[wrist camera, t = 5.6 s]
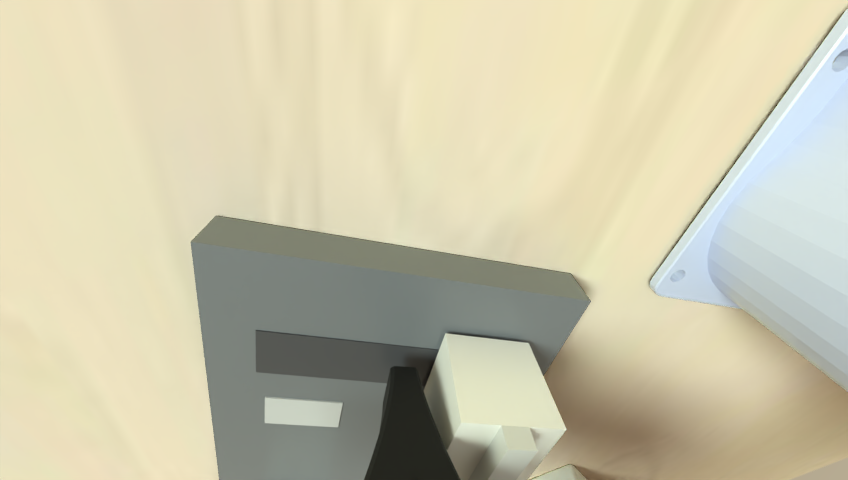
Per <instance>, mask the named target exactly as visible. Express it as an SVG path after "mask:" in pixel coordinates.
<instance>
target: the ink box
mask: <svg viewBox="0 0 848 480" xmlns="http://www.w3.org/2000/svg"><path fill="white" fill-rule="evenodd" d="M531 480H587V479H586V478H585V477H584V476H583V475H582V474H581V473H580V472H579V471H578V470H577V469H576V468H575V467H574V466H573V465H572V464H570V465H566V466H563V467H561V468H558V469H556V470H553V471H551V472H548V473H546V474H543V475H541V476H538V477H536V478H533V479H531Z"/></svg>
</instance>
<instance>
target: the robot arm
mask: <svg viewBox="0 0 848 480" xmlns="http://www.w3.org/2000/svg"><path fill="white" fill-rule="evenodd" d="M835 58H836V59H835ZM834 59H835V61H834ZM833 61H834V62H833ZM650 288H651V289H652V290H653V291H654V292H655V293H656V294H657V295H659V296H663V297H669V298H675V299H681V300H688V301H694V302H700V303H707V304H713V305H719V306H726V307H732V308H738V309H743V310H744V311H746V312H747V313H748V314H749V315H751V316H752V317H753V318H755V319H756V320H757V321H758V322H760V323H761V324H762V325H763V326H765V327H766V328H767V329H768V330H770V331H771V332H772V333H774V334H775V335H776V336H777V337H779V338H780V339H781V340H782V341H784V342H785V343H786V344H787V345H789V346H790V347H791V348H793V349H794V350H795V351H796V352H798V353H799V354H800V355H801V356H803V357H804V358H805V359H806V360H808V361H809V362H810V363H812V364H813V365H814V366H815V367H817V368H818V369H819V370H820V371H822V372H823V373H824V374H825V375H827V376H828V377H829V378H831V379H832V380H833V381H834V382H836V383H837V384H838V385H839V386H841V387H842V388H843V389H844V390H846V391H847V392H848V8H847V9H846V11H845V12H844V13H843V15H842V16H841V18H840V19H839V20H838V22H837V23H836V24H835V26H834V27H833V29H832V30H831V31H830V33H829V34H828V36H827V37H826V38H825V40H824V41H823V42H822V44H821V45H820V47H819V48H818V49H817V51H816V52H815V53H814V55H813V56H812V58H811V59H810V60H809V62H808V63H807V65H806V66H805V67H804V69H803V70H802V71H801V73H800V74H799V76H798V77H797V78H796V80H795V81H794V83H793V84H792V85H791V87H790V88H789V89H788V91H787V92H786V94H785V95H784V96H783V98H782V99H781V101H780V102H779V103H778V105H777V106H776V107H775V109H774V110H773V112H772V113H771V114H770V116H769V117H768V118H767V120H766V121H765V123H764V124H763V125H762V127H761V128H760V130H759V131H758V132H757V134H756V135H755V136H754V138H753V139H752V141H751V142H750V143H749V145H748V146H747V148H746V149H745V150H744V152H743V153H742V154H741V156H740V157H739V159H738V160H737V161H736V163H735V164H734V165H733V167H732V168H731V170H730V171H729V172H728V174H727V175H726V177H725V178H724V179H723V181H722V182H721V183H720V185H719V186H718V188H717V189H716V190H715V192H714V193H713V195H712V196H711V197H710V199H709V200H708V201H707V203H706V204H705V206H704V207H703V208H702V210H701V211H700V212H699V214H698V215H697V217H696V218H695V219H694V221H693V222H692V224H691V225H690V226H689V228H688V229H687V230H686V232H685V233H684V235H683V236H682V237H681V239H680V240H679V242H678V243H677V244H676V246H675V247H674V248H673V250H672V251H671V253H670V254H669V255H668V257H667V258H666V259H665V261H664V262H663V264H662V265H661V266H660V268H659V269H658V271H657V272H656V273H655V275H654V276H653V277H652V279H651V281H650ZM364 480H461V479H460V477H459V475H458V473H457V471H456V469H455V467H454V465H453V463H452V461H451V459H450V457H449V454H448V452H447V450H446V448H445V445H444V443H443V441H442V439H441V436H440V434H439V431H438V429H437V426H436V424H435V421H434V419H433V416H432V414H431V411H430V408H429V405H428V403H427V400H426V397H425V394H424V391H423V387H422V384H421V381H420V377H419V373H418V370H417V369H416V368H415V367H403V366H393V367H391V368H390V372H389V377H388V381H387V386H386V390H385V395H384V400H383V409H382V418H381V425H380V432H379V436H378V439H377V442H376V445H375V448H374V451H373V455H372V458H371V461H370V464H369V467H368V470H367V473H366V475H365V478H364Z"/></svg>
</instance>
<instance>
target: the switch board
mask: <svg viewBox="0 0 848 480" xmlns="http://www.w3.org/2000/svg"><path fill="white" fill-rule="evenodd" d="M191 249H192V257H193V265H194V274H195V282H196V290H197V299H198V307H199V315H200V323H201V332H202V340H203V348H204V357H205V365H206V373H207V382H208V390H209V398H210V407H211V415H212V423H213V432H214V440H215V448H216V457H217V465H218V473H219V480H364V478H365V475H366V473H367V470H368V467H369V464H370V461H371V458H372V455H373V451H374V448H375V445H376V442H377V439H378V436H379V432H380V425H381V418H382V409H383V400H384V395H385V390H386V386H387V381H388V377H389V372H390V368H391V367H393V366H403V367H415V368H416V369H417V370H418V373H419V377H420V381H421V384H422V387H423V391H424V388H425V386H426V383H427V381H428V378H429V375H430V373H431V370H432V367H433V365H434V362H435V360H436V357H437V354H438V352H439V349H440V346H441V344H442V341H443V339H444V336H445V333H447V334H456V335H464V336H473V337H481V338H490V339H498V340H507V341H516V342H524V343H529V345H530V347H531V349H532V352H533V354H534V356H535V359H536V361H537V363H538V365H539V368H540V370H541V372H542V375H543V376H544V374H545V373H546V371H547V369H548V368H549V366H550V365H551V363H552V362H553V360H554V358H555V357H556V355H557V354H558V352H559V351H560V349H561V347H562V346H563V344H564V343H565V341H566V340H567V338H568V336H569V335H570V333H571V332H572V330H573V329H574V327H575V325H576V324H577V322H578V321H579V319H580V318H581V316H582V315H583V313H584V311H585V310H586V308H587V307H588V305H589V304H590V302H591V300H590V299H589V298H588V296H587V295H586V294H585V292H584V291H583V290H582V288H581V287H580V286H579V284H578V283H577V282H576V280H575V279H574V277H573V276H572V275H571V274H570V273H564V272H558V271H551V270H545V269H539V268H533V267H527V266H521V265H515V264H509V263H503V262H496V261H490V260H484V259H478V258H472V257H466V256H460V255H454V254H448V253H441V252H435V251H429V250H423V249H417V248H411V247H405V246H399V245H393V244H386V243H380V242H374V241H368V240H362V239H356V238H350V237H344V236H337V235H331V234H325V233H319V232H313V231H307V230H301V229H295V228H289V227H282V226H276V225H270V224H264V223H258V222H252V221H246V220H240V219H234V218H227V217H221V216H215V217H214V218H213V219H212V220H211V221H210V222H209V223H208V225H207V226H206V227H205V228H204V229H203V230H202V231H201V232H200V233H199V234H198V235H197V236H196V237H195V238H194V239H193V240H192V241H191Z"/></svg>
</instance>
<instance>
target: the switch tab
mask: <svg viewBox="0 0 848 480" xmlns="http://www.w3.org/2000/svg"><path fill="white" fill-rule="evenodd" d="M424 394H425V397H426V400H427V403H428V405H429V408H430V411H431V414H432V416H433V419H434V421H435V424H436V426H437V429H438V431H439V434H440V436H441V439H442V441H443V443H444V445H445V448H446V450H447V452H448V454H449V457H450V459H451V461H452V463H453V465H454V467H455V469H456V471H457V473H458V475H459V477H460V479H461V480H527V479H528V478H529V477H530V476H531V474H532V473H533V472H534V471H535V469H536V468H537V467H538V465H539V464H540V463H541V462H542V460H543V459H544V458H545V457H546V455H547V454H548V453H549V451H550V450H551V449H552V448H553V446H554V445H555V444H556V443H557V441H558V440H559V439H560V437H561V436H562V435H563V434H564V432H565V431H566V430H567V429H566V427H565V425H564V422H563V420H562V418H561V416H560V413H559V411H558V409H557V407H556V404H555V402H554V400H553V397H552V395H551V393H550V391H549V388H548V386H547V384H546V381H545V379H544V377H543V375H542V372H541V370H540V368H539V365H538V363H537V361H536V359H535V356H534V354H533V352H532V349H531V347H530V345H529V343H524V342H516V341H507V340H498V339H490V338H481V337H473V336H464V335H456V334H447V333H445V336H444V339H443V341H442V344H441V346H440V349H439V352H438V354H437V357H436V360H435V362H434V365H433V367H432V370H431V373H430V375H429V378H428V381H427V383H426V386H425V388H424Z"/></svg>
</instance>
